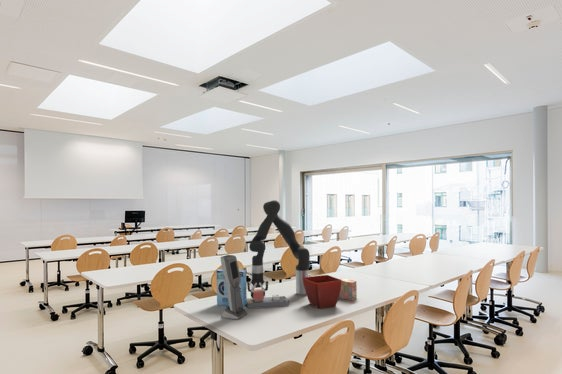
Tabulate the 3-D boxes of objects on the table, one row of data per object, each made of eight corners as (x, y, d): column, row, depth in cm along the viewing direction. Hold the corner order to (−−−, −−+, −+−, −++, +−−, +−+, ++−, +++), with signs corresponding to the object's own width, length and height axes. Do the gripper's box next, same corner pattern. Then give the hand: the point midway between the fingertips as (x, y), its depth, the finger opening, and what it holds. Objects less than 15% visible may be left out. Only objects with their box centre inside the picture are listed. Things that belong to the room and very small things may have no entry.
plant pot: (302, 302, 226) (302, 277, 226) (327, 299, 233) (326, 274, 234) (316, 311, 208) (316, 283, 209) (343, 307, 215) (342, 280, 216)
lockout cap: (262, 296, 227) (262, 289, 227) (263, 299, 219) (263, 292, 219) (252, 297, 226) (252, 289, 226) (253, 300, 218) (253, 292, 218)
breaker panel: (284, 300, 231) (284, 294, 232) (288, 305, 220) (288, 299, 220) (246, 303, 227) (246, 297, 227) (247, 308, 215) (247, 302, 215)
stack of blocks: (325, 295, 243) (325, 278, 244) (330, 293, 248) (330, 276, 249) (352, 300, 229) (352, 282, 230) (357, 298, 234) (356, 280, 235)
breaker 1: (260, 301, 225) (260, 298, 225) (261, 303, 220) (261, 300, 220) (254, 302, 224) (254, 298, 225) (255, 304, 219) (255, 300, 220)
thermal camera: (229, 311, 210) (228, 254, 211) (247, 313, 205) (247, 255, 207) (218, 317, 199) (218, 257, 201) (238, 320, 194) (237, 258, 196)
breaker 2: (278, 298, 227) (278, 294, 227) (279, 300, 222) (279, 296, 222) (272, 298, 227) (272, 295, 227) (273, 301, 222) (273, 297, 222)
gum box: (246, 305, 222) (246, 270, 223) (243, 307, 217) (243, 271, 218) (220, 303, 228) (219, 268, 229) (216, 305, 223) (216, 270, 224)
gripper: (267, 270, 228) (268, 295, 227) (246, 271, 226) (246, 296, 225) (269, 272, 221) (269, 298, 220) (247, 273, 218) (247, 299, 218)
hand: (257, 297), depth 222 cm, fingers closed on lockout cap, 6 cm apart
